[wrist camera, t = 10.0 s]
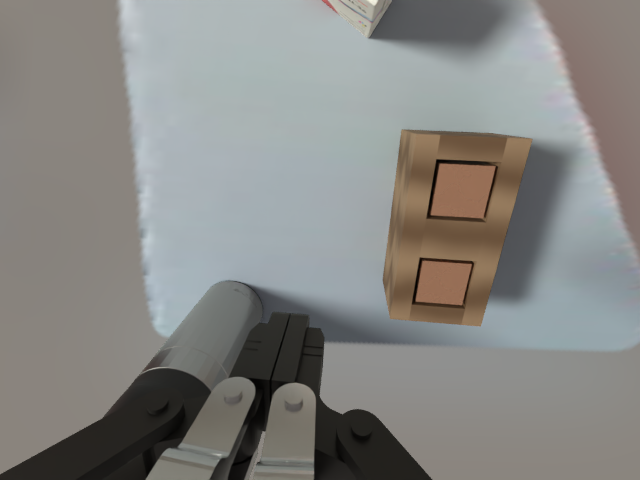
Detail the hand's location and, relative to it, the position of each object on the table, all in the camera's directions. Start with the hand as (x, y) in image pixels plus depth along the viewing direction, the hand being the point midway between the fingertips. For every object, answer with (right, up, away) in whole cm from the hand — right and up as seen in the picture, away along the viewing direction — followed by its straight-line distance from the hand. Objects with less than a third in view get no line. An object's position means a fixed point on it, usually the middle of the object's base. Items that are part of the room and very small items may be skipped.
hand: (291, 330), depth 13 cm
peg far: (+15, +2, +29) cm, 32 cm away
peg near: (+16, +12, +25) cm, 31 cm away
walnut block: (+15, +7, +27) cm, 32 cm away
